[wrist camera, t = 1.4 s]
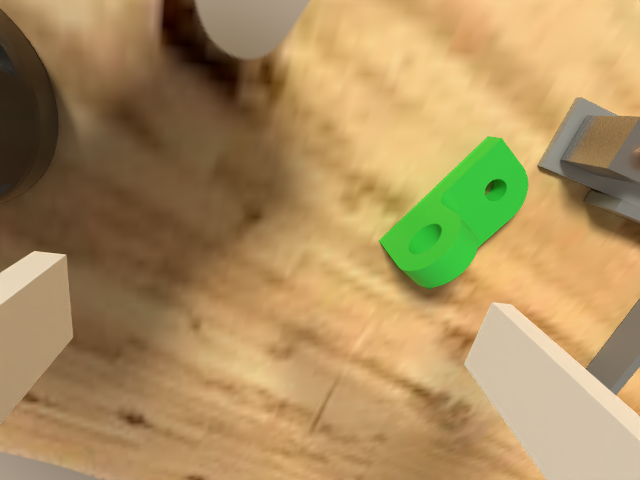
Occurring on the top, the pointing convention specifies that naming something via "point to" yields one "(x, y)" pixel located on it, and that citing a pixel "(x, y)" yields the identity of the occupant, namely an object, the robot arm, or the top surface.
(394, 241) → the mechanical part
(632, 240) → the top surface
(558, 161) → the dock
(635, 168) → the pin
